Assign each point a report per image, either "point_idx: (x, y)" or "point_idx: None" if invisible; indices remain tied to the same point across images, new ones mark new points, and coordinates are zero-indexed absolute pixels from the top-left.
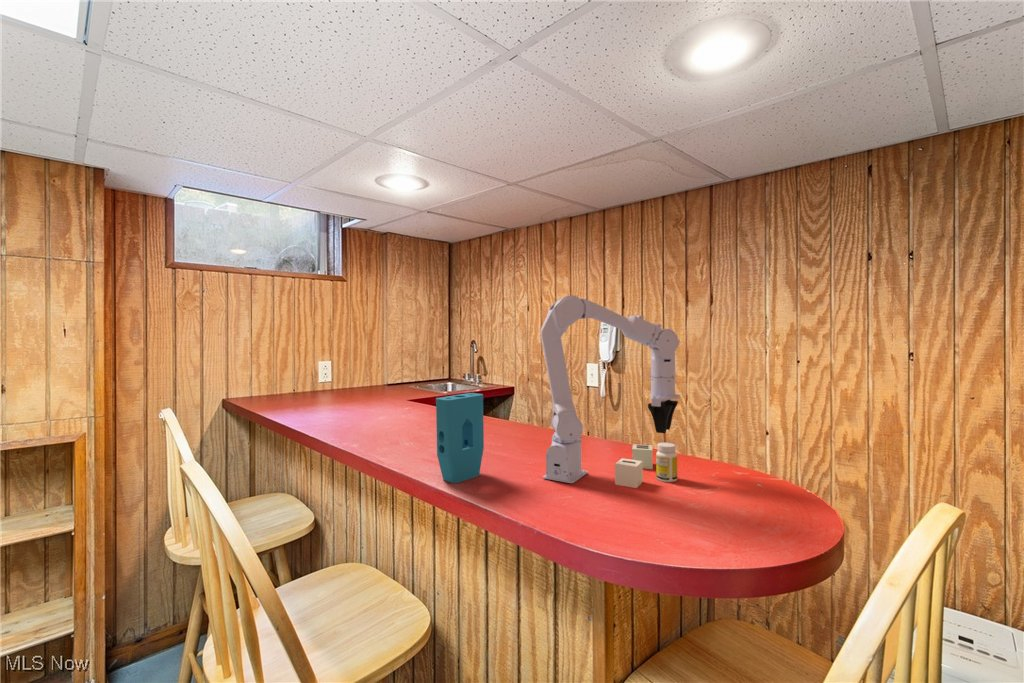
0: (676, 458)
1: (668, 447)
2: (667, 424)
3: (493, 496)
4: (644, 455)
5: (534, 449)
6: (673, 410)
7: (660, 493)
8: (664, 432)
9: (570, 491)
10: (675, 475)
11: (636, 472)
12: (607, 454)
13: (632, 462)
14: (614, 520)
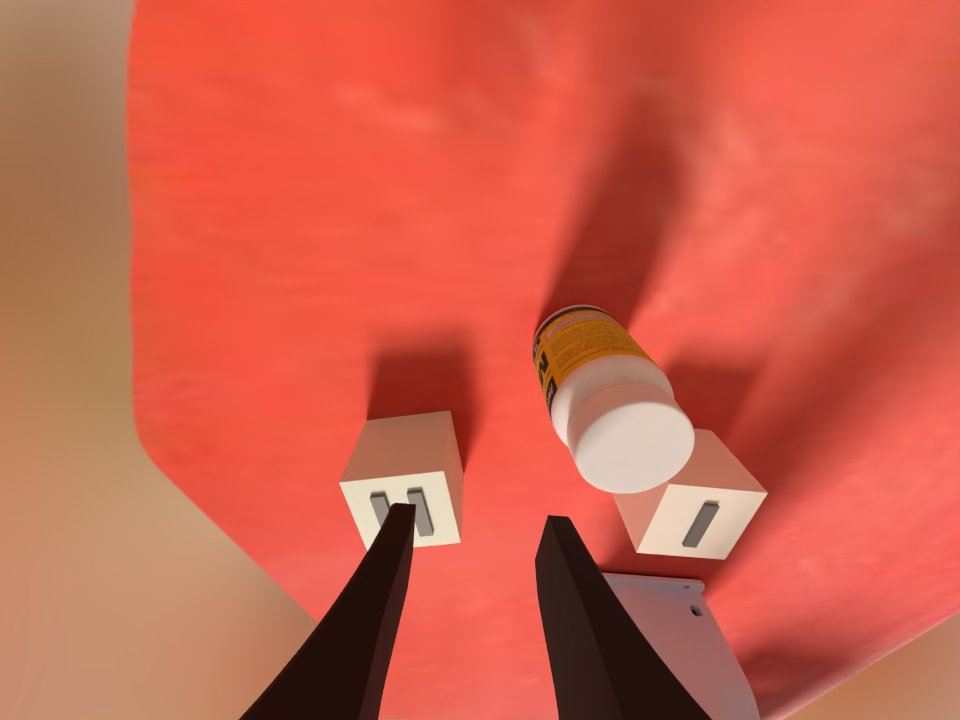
0: (634, 351)
1: (693, 432)
2: (406, 555)
3: (808, 667)
4: (452, 479)
5: (396, 702)
6: (345, 712)
7: (764, 349)
8: (572, 525)
9: (763, 569)
10: (611, 318)
11: (749, 473)
12: (330, 564)
13: (714, 514)
14: None
